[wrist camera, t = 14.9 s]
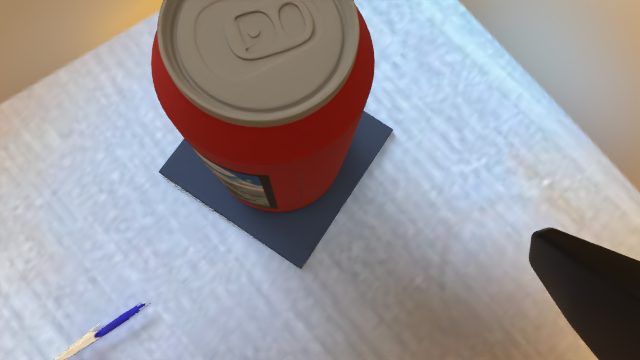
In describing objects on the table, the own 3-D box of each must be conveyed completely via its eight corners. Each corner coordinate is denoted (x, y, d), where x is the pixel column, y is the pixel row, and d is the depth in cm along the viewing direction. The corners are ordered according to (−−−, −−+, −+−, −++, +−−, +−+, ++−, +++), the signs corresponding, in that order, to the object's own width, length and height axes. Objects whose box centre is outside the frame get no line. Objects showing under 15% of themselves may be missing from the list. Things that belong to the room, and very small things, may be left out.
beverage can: (199, 115, 23) (99, -46, 12) (316, 77, 24) (333, -108, 12) (238, 233, 22) (170, 186, 10) (360, 190, 23) (425, 99, 11)
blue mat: (392, 131, 24) (393, 129, 24) (301, 269, 22) (301, 269, 22) (258, 46, 25) (258, 43, 24) (159, 172, 23) (158, 171, 23)
